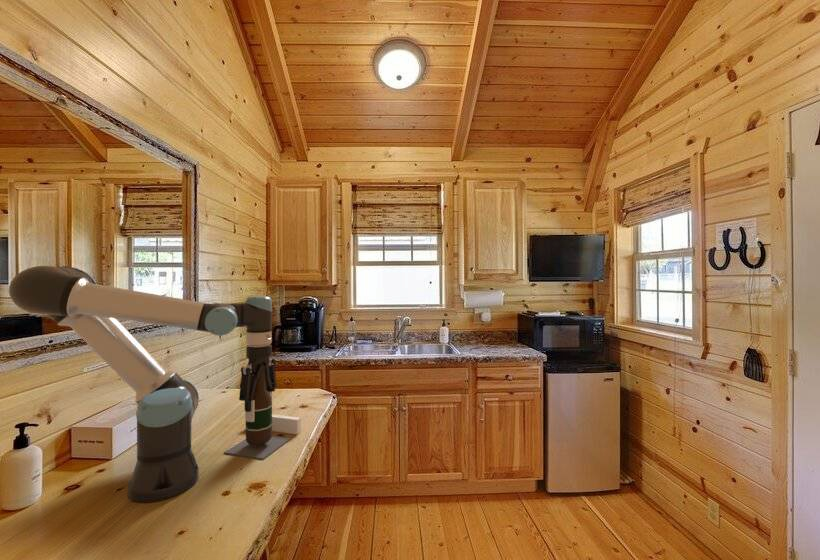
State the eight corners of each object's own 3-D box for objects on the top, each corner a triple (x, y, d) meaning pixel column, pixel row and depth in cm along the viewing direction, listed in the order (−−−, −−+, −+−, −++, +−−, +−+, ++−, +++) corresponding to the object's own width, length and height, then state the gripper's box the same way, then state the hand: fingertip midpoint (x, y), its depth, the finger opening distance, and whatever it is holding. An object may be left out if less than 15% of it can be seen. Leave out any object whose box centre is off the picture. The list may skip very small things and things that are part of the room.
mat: (263, 459, 107) (263, 458, 107) (224, 453, 110) (224, 452, 110) (290, 439, 120) (290, 438, 120) (254, 434, 124) (254, 433, 124)
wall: (297, 434, 124) (297, 419, 124) (248, 427, 129) (248, 413, 129) (300, 432, 126) (300, 417, 126) (251, 425, 131) (251, 412, 131)
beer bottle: (239, 442, 113) (240, 366, 113) (260, 433, 120) (261, 361, 120) (256, 447, 110) (257, 369, 110) (277, 438, 117) (277, 364, 117)
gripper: (246, 351, 104) (246, 430, 104) (288, 340, 124) (287, 406, 124) (225, 350, 106) (224, 427, 106) (269, 339, 126) (268, 404, 126)
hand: (258, 416), depth 115 cm, fingers closed on beer bottle, 7 cm apart
